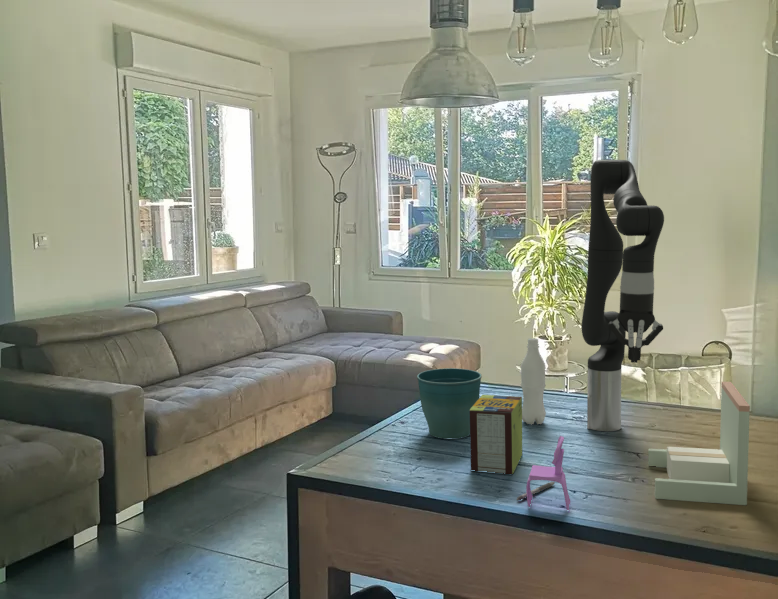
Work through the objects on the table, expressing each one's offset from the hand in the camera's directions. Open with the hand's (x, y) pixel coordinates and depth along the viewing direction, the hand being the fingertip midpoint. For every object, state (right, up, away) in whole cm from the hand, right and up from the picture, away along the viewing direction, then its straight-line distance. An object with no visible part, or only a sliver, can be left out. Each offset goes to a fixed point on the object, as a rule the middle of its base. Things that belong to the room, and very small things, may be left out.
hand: (634, 361), depth 177 cm
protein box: (-32, -26, +7) cm, 42 cm away
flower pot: (-42, -23, +32) cm, 57 cm away
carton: (+12, -27, -8) cm, 30 cm away
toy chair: (-25, -29, -20) cm, 43 cm away
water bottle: (-16, -22, +40) cm, 49 cm away
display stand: (+10, -27, -10) cm, 30 cm away
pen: (-26, -29, -14) cm, 41 cm away
